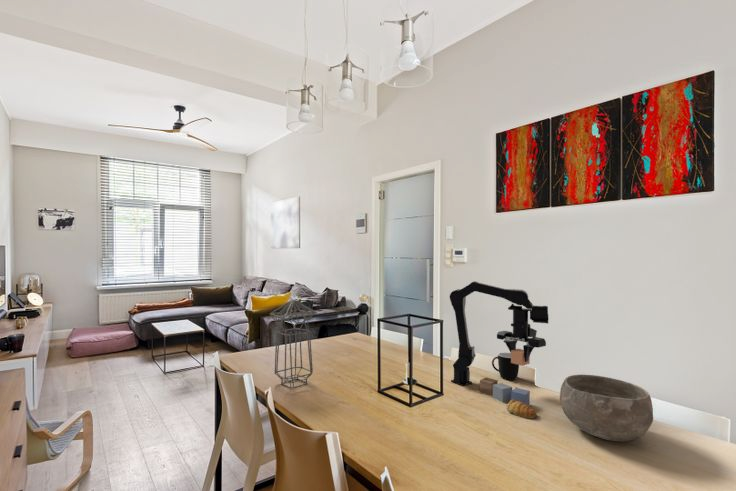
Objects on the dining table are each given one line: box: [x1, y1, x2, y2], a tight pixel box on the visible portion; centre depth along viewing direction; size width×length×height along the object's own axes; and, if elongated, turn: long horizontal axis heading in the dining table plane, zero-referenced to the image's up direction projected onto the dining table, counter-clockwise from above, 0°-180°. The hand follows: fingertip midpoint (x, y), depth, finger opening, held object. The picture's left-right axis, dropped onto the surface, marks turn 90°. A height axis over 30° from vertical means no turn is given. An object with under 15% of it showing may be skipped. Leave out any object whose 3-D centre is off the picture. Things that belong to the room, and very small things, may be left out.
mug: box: [491, 352, 520, 381], centre depth 170 cm, size 12×9×10 cm
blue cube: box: [511, 387, 531, 406], centre depth 139 cm, size 5×5×5 cm
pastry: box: [506, 400, 538, 419], centre depth 131 cm, size 9×7×4 cm
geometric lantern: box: [269, 299, 318, 389], centre depth 159 cm, size 16×16×35 cm
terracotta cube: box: [511, 348, 531, 367], centre depth 153 cm, size 5×5×5 cm
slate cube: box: [492, 382, 513, 403], centre depth 144 cm, size 5×5×5 cm
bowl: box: [559, 374, 654, 442], centre depth 117 cm, size 24×24×15 cm
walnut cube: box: [479, 377, 499, 397], centre depth 151 cm, size 5×5×5 cm
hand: (520, 360), depth 153 cm, fingers closed on terracotta cube, 5 cm apart
